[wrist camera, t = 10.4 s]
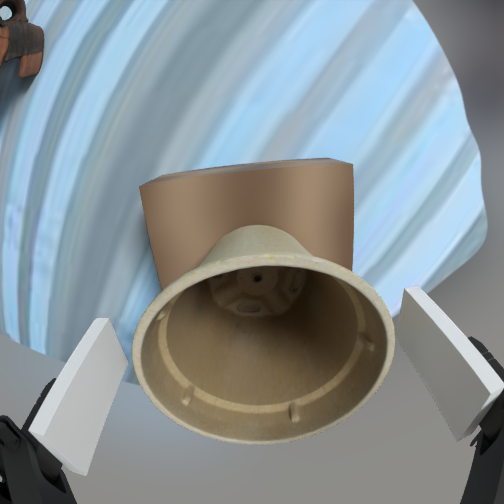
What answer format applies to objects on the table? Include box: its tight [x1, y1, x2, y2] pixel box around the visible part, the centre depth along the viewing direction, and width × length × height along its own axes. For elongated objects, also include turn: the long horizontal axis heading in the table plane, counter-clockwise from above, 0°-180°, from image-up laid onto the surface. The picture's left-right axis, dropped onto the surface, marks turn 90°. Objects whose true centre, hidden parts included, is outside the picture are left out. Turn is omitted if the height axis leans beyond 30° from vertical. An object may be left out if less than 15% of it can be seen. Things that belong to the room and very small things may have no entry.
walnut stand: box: [139, 158, 354, 311], centre depth 19 cm, size 12×12×5 cm
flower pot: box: [132, 225, 395, 445], centre depth 13 cm, size 9×9×9 cm
